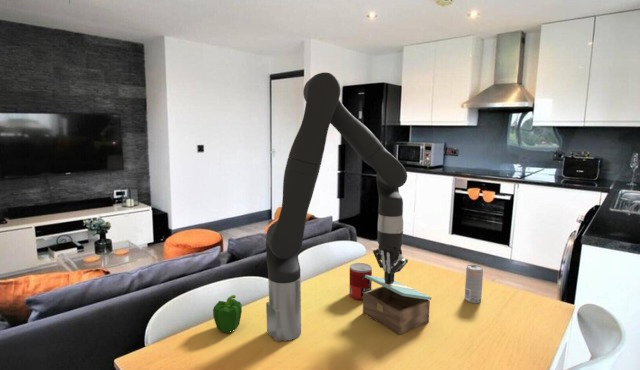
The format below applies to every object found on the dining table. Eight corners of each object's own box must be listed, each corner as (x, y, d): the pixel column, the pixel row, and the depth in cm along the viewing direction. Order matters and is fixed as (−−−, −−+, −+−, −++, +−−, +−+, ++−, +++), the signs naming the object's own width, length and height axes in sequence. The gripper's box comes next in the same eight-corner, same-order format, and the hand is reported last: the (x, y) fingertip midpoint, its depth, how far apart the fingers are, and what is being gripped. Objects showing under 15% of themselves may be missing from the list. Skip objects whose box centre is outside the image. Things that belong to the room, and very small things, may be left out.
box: (398, 335, 107) (399, 312, 106) (362, 313, 120) (362, 292, 119) (428, 322, 114) (429, 300, 113) (391, 302, 127) (392, 283, 126)
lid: (402, 295, 105) (403, 292, 105) (364, 277, 118) (365, 274, 119) (430, 300, 113) (431, 297, 113) (392, 282, 126) (392, 279, 126)
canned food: (364, 302, 127) (365, 272, 125) (345, 296, 131) (345, 267, 130) (375, 295, 133) (375, 265, 131) (356, 289, 138) (356, 261, 136)
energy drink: (478, 296, 131) (480, 264, 129) (483, 304, 126) (485, 270, 124) (462, 296, 131) (464, 264, 130) (467, 303, 126) (469, 269, 124)
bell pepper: (215, 338, 105) (214, 306, 104) (212, 324, 113) (211, 294, 111) (245, 332, 108) (244, 300, 107) (240, 319, 116) (239, 289, 114)
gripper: (366, 226, 114) (365, 279, 117) (397, 236, 103) (396, 294, 106) (383, 222, 118) (382, 273, 121) (415, 231, 107) (414, 287, 110)
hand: (389, 283), depth 113 cm, fingers closed
